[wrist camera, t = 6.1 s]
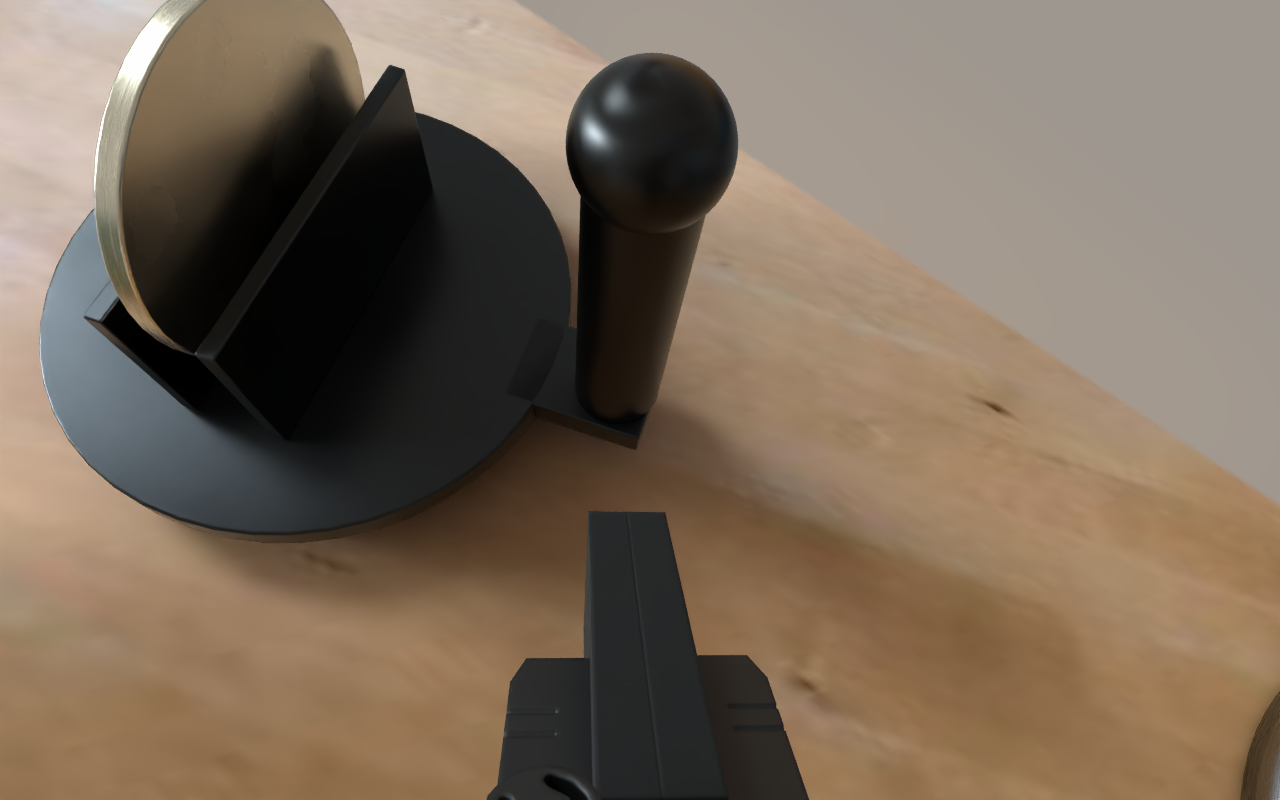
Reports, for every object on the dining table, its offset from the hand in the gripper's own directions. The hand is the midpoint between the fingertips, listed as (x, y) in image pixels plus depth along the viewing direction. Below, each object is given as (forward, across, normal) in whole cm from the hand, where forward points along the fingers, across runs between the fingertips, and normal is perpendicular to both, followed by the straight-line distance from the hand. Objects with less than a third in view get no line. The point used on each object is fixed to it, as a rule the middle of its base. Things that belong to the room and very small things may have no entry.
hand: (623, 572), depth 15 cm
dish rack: (+12, +8, -2) cm, 14 cm away
